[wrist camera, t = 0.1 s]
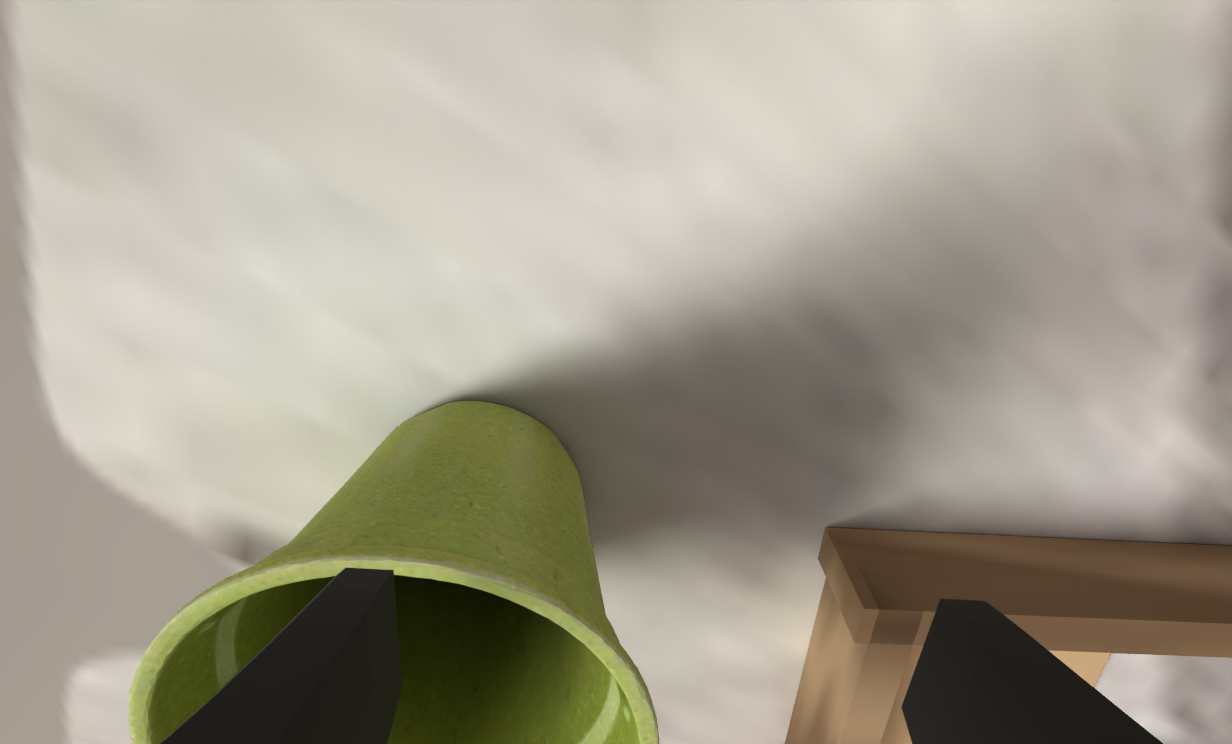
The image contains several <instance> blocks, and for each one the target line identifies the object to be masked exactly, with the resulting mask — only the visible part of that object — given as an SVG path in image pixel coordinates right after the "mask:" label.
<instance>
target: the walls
mask: <svg viewBox="0 0 1232 744" xmlns="http://www.w3.org/2000/svg"><path fill="white" fill-rule="evenodd" d="M818 559H819V561H820V564H821V566H822V568H823V571H824V573H825V575H826V580H825V584H824V588H823V592H822V596H821V600H820V605H819V609H818V613H817V617H816V621H815V625H814V629H813V633H812V637H811V641H810V645H809V649H808V653H807V657H806V661H805V665H804V669H803V673H802V677H801V681H800V685H799V689H798V693H797V697H796V701H795V705H794V709H793V713H792V717H791V721H790V726H789V730H788V734H787V738H786V742H785V744H880V742H881V739H882V736H883V733H884V730H885V727H886V724H887V721H888V718H889V715H890V712H891V709H892V706H893V703H894V700H895V697H896V694H897V691H898V688H899V685H900V682H901V679H902V676H903V673H904V670H905V667H906V664H907V661H908V658H909V655H910V652H911V649H912V646H913V645H921V646H923V645H924V643H925V640H926V637H927V634H928V631H929V629H930V626H931V623H932V620H933V618H934V615H935V612H936V609H937V606H938V604H939V601H940V599H958V600H977V601H986V602H987V603H989V604H990V605H991V606H993V607H994V608H995V609H997V610H998V611H999V612H1001V613H1002V614H1003V615H1005V616H1006V617H1007V618H1008V619H1010V620H1011V621H1012V622H1014V623H1015V624H1016V625H1017V626H1019V627H1020V628H1021V629H1022V630H1024V631H1025V632H1026V633H1027V634H1029V635H1030V636H1031V637H1032V638H1034V639H1035V640H1036V641H1037V642H1039V643H1040V644H1041V645H1042V646H1043V647H1045V648H1046V649H1047V650H1049V651H1075V652H1101V653H1127V654H1152V655H1178V656H1204V657H1230V658H1232V546H1224V545H1201V544H1179V543H1157V542H1135V541H1113V540H1091V539H1069V538H1047V537H1025V536H1003V535H981V534H959V533H936V532H914V531H892V530H870V529H848V528H825V532H824V536H823V541H822V545H821V549H820V553H819V557H818Z"/></svg>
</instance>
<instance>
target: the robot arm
mask: <svg viewBox="0 0 1232 744" xmlns="http://www.w3.org/2000/svg"><path fill="white" fill-rule="evenodd" d="M401 687H402V676H401V663H400V649H399V636H398V623H397V610H396V596H395V583H394V570H383V569H364V568H345V569H343V570H342V571H341V572H340V573H338V574H337V575H336V576H335V577H334V578H333V579H332V580H331V581H330V582H329V583H328V584H327V585H326V586H325V587H324V588H323V589H322V590H321V591H320V592H319V593H318V594H317V595H316V596H315V597H314V598H313V599H312V600H311V601H310V602H309V603H308V604H307V605H306V606H305V607H304V608H303V609H302V610H301V611H300V612H299V613H298V614H297V615H296V616H295V617H294V618H293V619H292V620H291V621H290V622H289V623H288V624H287V625H286V626H285V627H284V628H283V629H282V630H281V631H280V632H279V633H278V634H277V635H276V636H275V637H274V638H273V639H272V640H271V641H270V642H269V643H268V644H267V645H266V646H265V647H264V648H263V649H262V650H261V651H260V652H259V653H258V654H257V655H255V656H254V657H253V658H252V659H251V660H250V661H249V662H248V663H247V664H246V665H245V666H244V667H243V668H242V669H241V670H240V671H239V672H237V673H236V674H235V675H234V676H233V677H232V678H231V679H230V680H229V681H228V682H227V683H226V684H225V685H224V686H223V687H222V688H220V689H219V690H218V691H217V692H216V693H215V694H214V695H213V696H212V697H211V698H210V699H209V700H208V701H207V702H206V703H205V704H203V705H202V706H201V707H200V708H199V709H198V710H197V711H196V712H195V713H194V714H193V715H191V716H190V717H189V718H188V719H187V720H186V721H185V722H184V723H182V724H181V725H180V726H179V727H178V728H177V729H176V730H174V731H173V732H172V733H171V734H170V735H169V736H168V737H166V738H165V739H164V740H163V741H162V742H161V743H160V744H387V743H388V739H389V735H390V732H391V728H392V724H393V720H394V716H395V712H396V708H397V703H398V699H399V695H400V691H401ZM901 708H902V711H903V714H904V718H905V721H906V725H907V728H908V731H909V735H910V738H911V741H912V744H1163V743H1162V742H1160V741H1159V740H1158V739H1157V738H1155V737H1154V736H1153V735H1152V734H1150V733H1149V732H1148V731H1147V730H1145V729H1144V728H1143V727H1142V726H1140V725H1139V724H1138V723H1137V722H1135V721H1134V720H1133V719H1132V718H1130V717H1129V716H1128V715H1127V714H1125V713H1124V712H1123V711H1122V710H1121V709H1119V708H1118V707H1117V706H1116V705H1114V704H1113V703H1112V702H1111V701H1110V700H1108V699H1107V698H1106V697H1105V696H1103V695H1102V694H1101V693H1100V692H1098V691H1097V690H1096V689H1095V688H1094V687H1092V686H1091V685H1090V684H1089V683H1087V682H1086V681H1085V680H1084V679H1083V678H1081V677H1080V676H1079V675H1078V674H1076V673H1075V672H1074V671H1073V670H1072V669H1070V668H1069V667H1068V666H1067V665H1066V664H1064V663H1063V662H1062V661H1061V660H1059V659H1058V658H1057V657H1056V656H1055V655H1053V654H1052V653H1051V652H1050V651H1048V650H1047V649H1046V648H1045V647H1043V646H1042V645H1041V644H1040V643H1039V642H1037V641H1036V640H1035V639H1034V638H1032V637H1031V636H1030V635H1029V634H1027V633H1026V632H1025V631H1024V630H1022V629H1021V628H1020V627H1019V626H1017V625H1016V624H1015V623H1014V622H1012V621H1011V620H1010V619H1008V618H1007V617H1006V616H1005V615H1003V614H1002V613H1001V612H999V611H998V610H997V609H995V608H994V607H993V606H991V605H990V604H989V603H987V602H986V601H977V600H958V599H940V601H939V604H938V606H937V609H936V612H935V615H934V618H933V620H932V623H931V626H930V629H929V631H928V634H927V637H926V640H925V643H924V645H923V648H922V651H921V654H920V656H919V659H918V662H917V665H916V668H915V670H914V673H913V676H912V679H911V681H910V684H909V687H908V690H907V693H906V695H905V698H904V701H903V704H902V707H901Z"/></svg>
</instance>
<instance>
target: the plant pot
mask: <svg viewBox="0 0 1232 744" xmlns="http://www.w3.org/2000/svg"><path fill="white" fill-rule="evenodd" d="M345 568H364V569H383V570H394V583H395V596H396V610H397V623H398V636H399V649H400V663H401V676H402V687H401V691H400V695H399V699H398V703H397V708H396V712H395V716H394V720H393V724H392V728H391V732H390V735H389V739H388V743H387V744H659V733H658V726H657V718H656V714H655V711H654V707H653V703H652V700H651V697H650V694H649V691H648V688H647V686H646V684H645V682H644V680H643V678H642V676H641V674H640V672H639V670H638V668H637V667H636V665H635V664H634V663H633V661H632V660H631V658H630V657H629V655H628V654H627V652H626V651H625V650H624V648H623V647H622V646H621V645H620V643H619V640H618V638H617V636H616V634H615V632H614V629H613V627H612V625H611V624H610V622H609V620H608V619H607V617H606V614H605V609H604V604H603V599H602V594H601V589H600V584H599V579H598V573H597V568H596V563H595V558H594V553H593V548H592V542H591V536H590V531H589V525H588V519H587V512H586V506H585V500H584V495H583V490H582V485H581V481H580V477H579V473H578V471H577V469H576V467H575V465H574V463H573V461H572V459H571V458H570V456H569V454H568V453H567V451H566V450H565V449H564V447H563V446H562V444H561V443H560V441H559V439H558V438H557V436H556V435H555V434H554V433H553V432H552V431H550V430H549V429H548V428H547V427H546V426H544V425H543V424H542V423H540V422H539V421H537V420H536V419H534V418H532V417H531V416H529V415H527V414H524V413H522V412H520V411H518V410H515V409H512V408H510V407H506V406H503V405H499V404H494V403H489V402H481V401H458V402H450V403H447V404H444V405H442V406H439V407H437V408H434V409H431V410H429V411H426V412H424V413H421V414H419V415H417V416H415V417H413V418H410V419H408V420H407V421H405V422H403V423H402V424H400V425H399V426H398V427H397V428H396V429H395V430H394V431H393V432H392V433H391V434H390V435H389V436H388V437H387V438H386V439H385V440H384V441H383V442H382V443H381V444H380V446H379V447H378V448H377V449H376V450H375V451H374V452H373V453H372V455H371V456H370V457H369V458H368V459H367V460H366V461H365V462H364V463H363V465H362V466H361V467H360V468H359V469H358V470H357V471H356V472H355V473H354V474H353V476H352V477H351V478H350V479H349V480H348V481H347V482H346V483H345V484H344V486H343V487H342V488H341V489H340V490H339V491H338V492H337V493H336V494H335V495H334V496H333V497H332V498H331V499H330V500H329V502H328V503H327V504H326V505H325V506H324V507H323V508H322V509H321V510H320V511H319V512H318V513H317V514H316V515H315V516H314V518H313V519H312V520H311V521H310V522H309V523H308V524H307V525H306V526H305V527H304V528H303V529H302V530H301V531H300V533H299V534H298V535H297V536H296V537H295V538H294V539H293V540H292V541H291V542H290V543H289V544H288V545H286V546H284V547H282V548H280V549H278V550H277V551H275V552H273V553H271V554H270V555H269V556H267V557H266V558H264V559H263V560H262V561H260V562H259V563H258V564H256V565H255V566H254V567H251V568H248V569H246V570H243V571H241V572H239V573H237V574H235V575H233V576H230V577H228V578H226V579H224V580H223V581H221V582H219V583H217V584H216V585H214V586H212V587H211V588H209V589H207V590H206V591H204V592H203V593H202V594H200V595H198V596H197V597H195V598H194V599H193V600H192V601H190V602H189V603H188V604H187V605H185V606H184V607H183V608H182V609H181V610H180V611H179V612H178V613H177V614H176V615H175V616H174V617H173V618H172V619H171V620H170V622H169V623H168V624H167V625H166V626H165V627H164V628H163V629H162V631H161V632H160V633H159V634H158V635H157V636H156V638H155V639H154V640H153V642H152V643H151V645H150V646H149V647H148V649H147V651H146V652H145V654H144V656H143V658H142V660H141V662H140V664H139V666H138V669H137V671H136V673H135V676H134V678H133V682H132V686H131V689H130V692H129V702H128V709H129V729H130V738H131V742H132V744H160V743H161V742H162V741H163V740H164V739H165V738H166V737H168V736H169V735H170V734H171V733H172V732H173V731H174V730H176V729H177V728H178V727H179V726H180V725H181V724H182V723H184V722H185V721H186V720H187V719H188V718H189V717H190V716H191V715H193V714H194V713H195V712H196V711H197V710H198V709H199V708H200V707H201V706H202V705H203V704H205V703H206V702H207V701H208V700H209V699H210V698H211V697H212V696H213V695H214V694H215V693H216V692H217V691H218V690H219V689H220V688H222V687H223V686H224V685H225V684H226V683H227V682H228V681H229V680H230V679H231V678H232V677H233V676H234V675H235V674H236V673H237V672H239V671H240V670H241V669H242V668H243V667H244V666H245V665H246V664H247V663H248V662H249V661H250V660H251V659H252V658H253V657H254V656H255V655H257V654H258V653H259V652H260V651H261V650H262V649H263V648H264V647H265V646H266V645H267V644H268V643H269V642H270V641H271V640H272V639H273V638H274V637H275V636H276V635H277V634H278V633H279V632H280V631H281V630H282V629H283V628H284V627H285V626H286V625H287V624H288V623H289V622H290V621H291V620H292V619H293V618H294V617H295V616H296V615H297V614H298V613H299V612H300V611H301V610H302V609H303V608H304V607H305V606H306V605H307V604H308V603H309V602H310V601H311V600H312V599H313V598H314V597H315V596H316V595H317V594H318V593H319V592H320V591H321V590H322V589H323V588H324V587H325V586H326V585H327V584H328V583H329V582H330V581H331V580H332V579H333V578H334V577H335V576H336V575H337V574H338V573H340V572H341V571H342V570H343V569H345Z"/></svg>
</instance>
